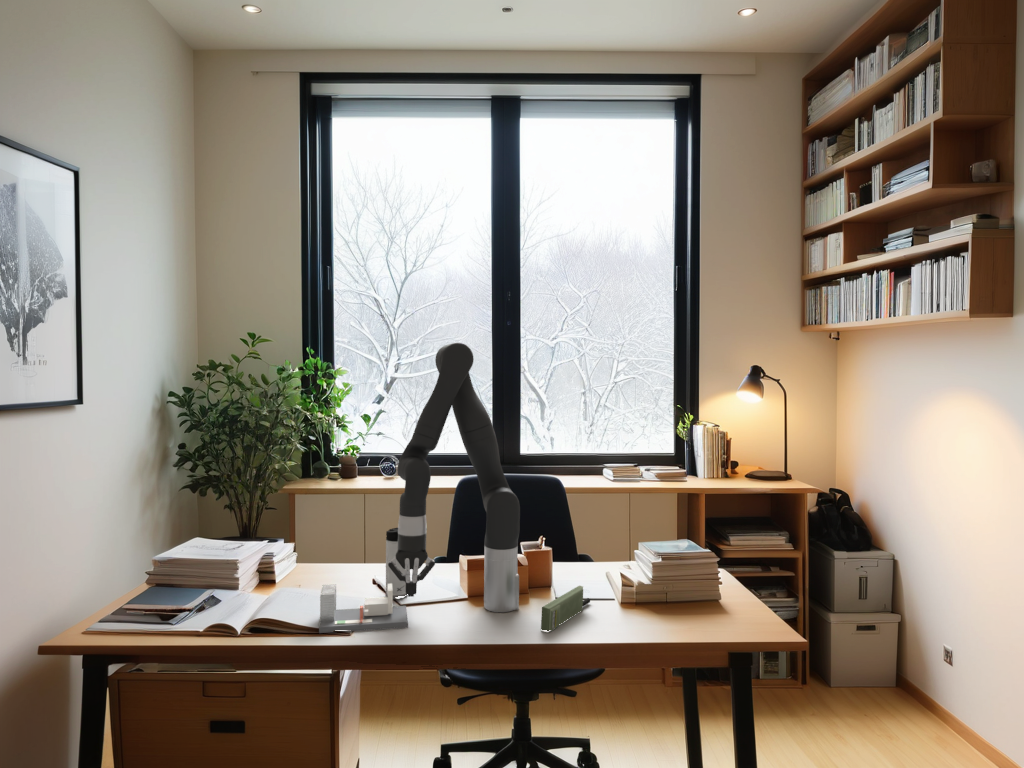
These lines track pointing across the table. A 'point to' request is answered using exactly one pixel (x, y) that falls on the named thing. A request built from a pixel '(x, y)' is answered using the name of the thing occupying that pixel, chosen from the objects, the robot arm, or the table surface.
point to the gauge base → (365, 620)
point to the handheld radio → (562, 608)
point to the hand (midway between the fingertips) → (410, 595)
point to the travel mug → (391, 551)
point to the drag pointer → (361, 614)
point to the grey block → (328, 603)
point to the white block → (379, 604)
